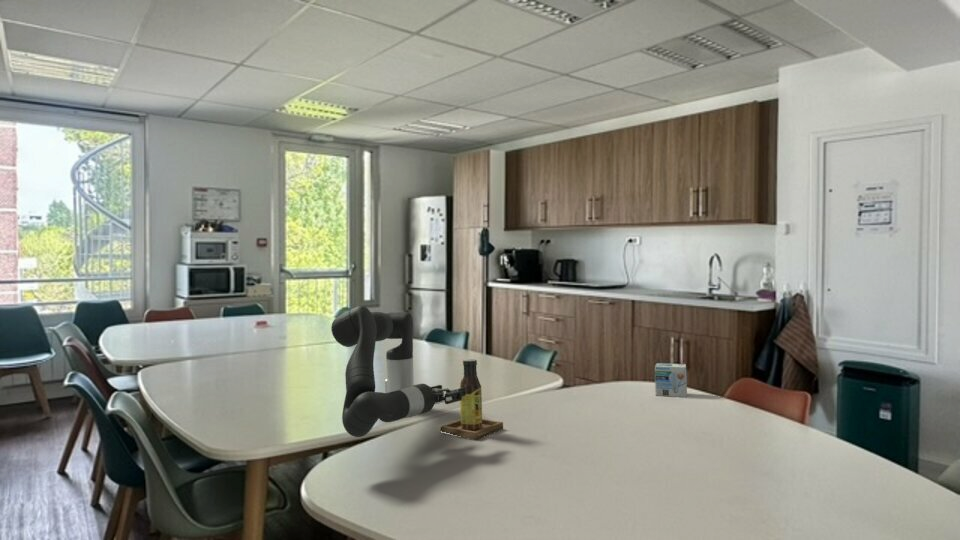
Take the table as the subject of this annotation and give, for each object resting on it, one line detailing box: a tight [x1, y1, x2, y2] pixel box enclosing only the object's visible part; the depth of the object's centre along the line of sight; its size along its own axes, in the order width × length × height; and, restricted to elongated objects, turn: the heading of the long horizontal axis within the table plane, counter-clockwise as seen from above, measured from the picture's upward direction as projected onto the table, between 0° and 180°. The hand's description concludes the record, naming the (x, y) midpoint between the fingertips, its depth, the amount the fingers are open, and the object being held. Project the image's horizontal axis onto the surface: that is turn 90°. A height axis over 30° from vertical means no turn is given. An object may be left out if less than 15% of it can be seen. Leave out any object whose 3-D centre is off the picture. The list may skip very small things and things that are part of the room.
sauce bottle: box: [459, 359, 483, 431], centre depth 161 cm, size 6×6×20 cm
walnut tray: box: [439, 418, 504, 441], centre depth 161 cm, size 13×13×2 cm
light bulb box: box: [654, 362, 688, 398], centre depth 200 cm, size 11×7×11 cm, turn 68°
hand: (452, 390), depth 154 cm, fingers open, 8 cm apart
